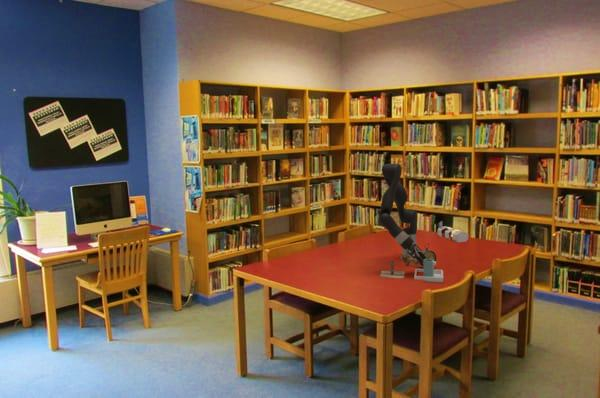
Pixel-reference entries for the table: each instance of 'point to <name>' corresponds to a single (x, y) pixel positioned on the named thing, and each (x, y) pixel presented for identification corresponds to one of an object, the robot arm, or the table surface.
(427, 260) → the blue grey tall block
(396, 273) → the stake base
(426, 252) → the alarm clock
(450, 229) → the white black banded cylinder
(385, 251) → the table surface
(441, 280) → the tray
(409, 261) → the lion figurine
